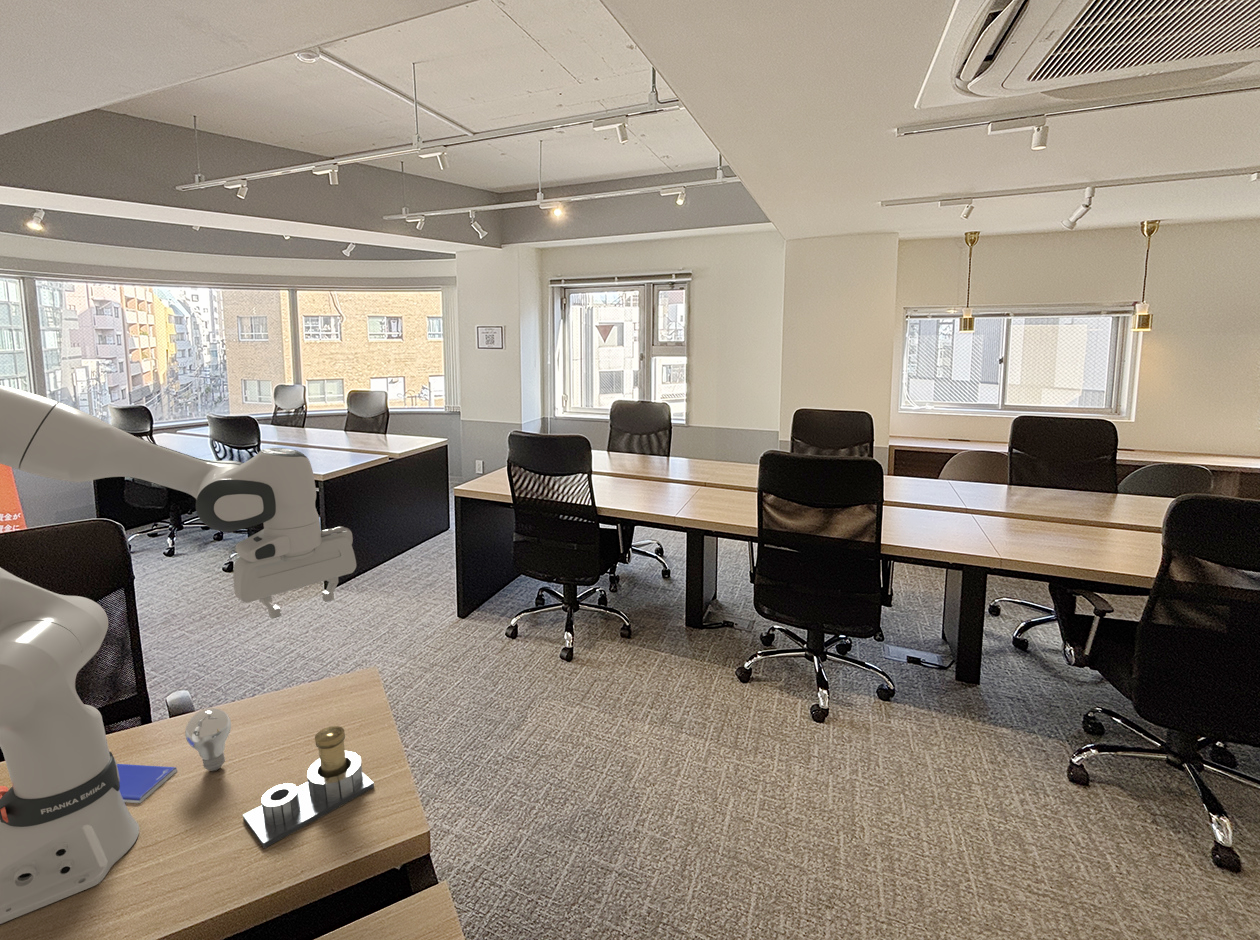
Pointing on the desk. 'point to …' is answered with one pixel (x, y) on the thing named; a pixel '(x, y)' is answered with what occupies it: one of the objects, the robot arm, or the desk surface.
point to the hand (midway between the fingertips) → (302, 608)
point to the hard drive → (141, 780)
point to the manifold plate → (305, 801)
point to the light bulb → (209, 736)
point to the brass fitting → (331, 751)
